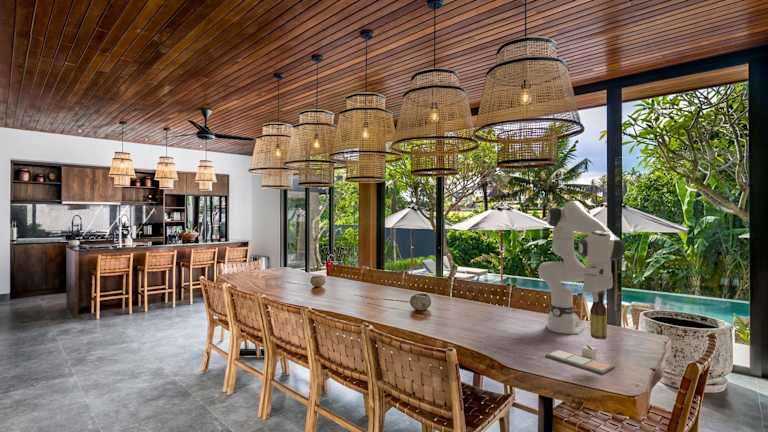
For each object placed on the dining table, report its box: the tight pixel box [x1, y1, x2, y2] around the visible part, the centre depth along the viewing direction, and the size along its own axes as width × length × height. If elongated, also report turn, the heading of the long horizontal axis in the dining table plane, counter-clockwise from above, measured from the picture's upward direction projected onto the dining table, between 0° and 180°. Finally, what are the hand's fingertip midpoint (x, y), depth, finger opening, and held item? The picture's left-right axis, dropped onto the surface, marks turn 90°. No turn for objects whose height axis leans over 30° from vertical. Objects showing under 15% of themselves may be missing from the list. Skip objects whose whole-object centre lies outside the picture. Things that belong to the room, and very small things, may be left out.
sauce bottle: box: [589, 291, 608, 340], centre depth 167 cm, size 7×6×20 cm
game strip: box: [544, 348, 616, 375], centre depth 173 cm, size 12×25×1 cm, turn 38°
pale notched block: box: [581, 345, 597, 360], centre depth 179 cm, size 4×4×5 cm
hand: (598, 300), depth 167 cm, fingers closed on sauce bottle, 4 cm apart
